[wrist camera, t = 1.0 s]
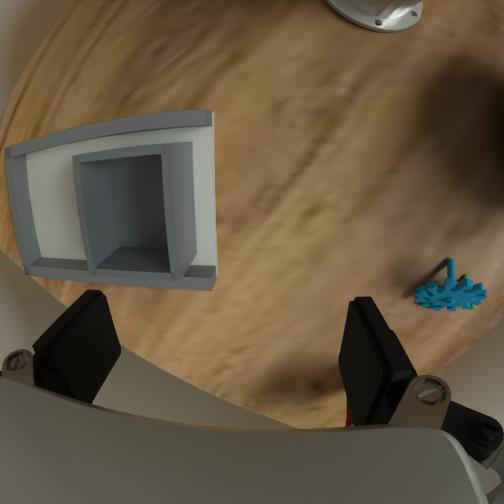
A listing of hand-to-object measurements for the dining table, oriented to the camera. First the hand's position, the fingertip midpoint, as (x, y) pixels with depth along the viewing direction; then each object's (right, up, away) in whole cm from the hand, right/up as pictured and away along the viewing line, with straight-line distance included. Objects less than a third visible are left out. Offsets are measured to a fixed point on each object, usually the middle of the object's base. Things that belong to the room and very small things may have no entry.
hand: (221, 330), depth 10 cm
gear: (+26, -1, +22) cm, 34 cm away
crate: (-10, +8, +19) cm, 23 cm away
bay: (-17, +9, +21) cm, 28 cm away
